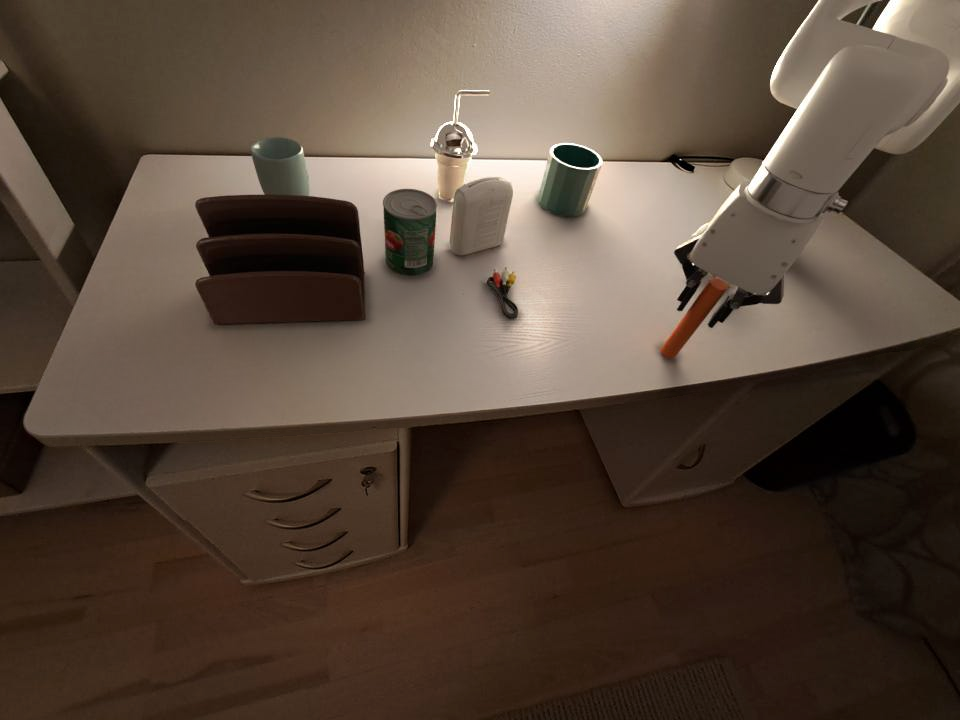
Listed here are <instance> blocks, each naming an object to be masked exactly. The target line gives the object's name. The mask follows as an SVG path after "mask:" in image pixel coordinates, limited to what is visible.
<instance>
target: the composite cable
mask: <svg viewBox="0 0 960 720" xmlns="http://www.w3.org/2000/svg"><path fill="white" fill-rule="evenodd" d="M515 273H516V271H515V270H512V272H511V273H510V272H509V270H508V267H507V266H505V267H504V269H503V271H502V272H501V276H500V273H499V271H497V269H496V268H494V269H493V273H492V276H489V277H487V279H486V281H485V283H486V285H487V287H488V288H489V289H490V290H491V291H493V293H494V294H495V295H496V296H497V297H498V298H499V301H500V306H501V311H502V313H503V315H504V317H506V318H507V319H509V320H513V319H516V318H517V317H518V315H519V309H518V306H517V304H515V302H514V301H512V300H511V299H509V297H508V295H509V293H510V291H511V288H512V286H513V285H514V284H515V282H516V278H517V275H516V274H515ZM492 283H493V284H494V285H496V286H494V285H493V284H492ZM506 305H507V306H508V307H509V308H510V310H512V313H511V312H509V311H508V310H507V307H506Z"/></svg>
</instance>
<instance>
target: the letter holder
mask: <svg viewBox="0 0 960 720" xmlns="http://www.w3.org/2000/svg"><path fill="white" fill-rule="evenodd" d="M194 205H195V207H194V208H195V209H196V213H197V214H198V216H199V218H200V221H201V222H202V225H203V227H204V230H205V232H206V234H207V237H202V238H200V239H199V240H198V241H196V244H195V247H196V248H195V249H196V250H197V252H198V255H199V257H200V259H201V261H202V263H203V265H204V267H205V269H206V271H207V273H208V276H202V277H199V278H197V279H196V280H195V288H196V291H197V293H198V294H199V297H200V298H201V300H202V302H203V304H204V306H205V308H206V312H207V313H208V315H209V317H210V319H211V321H212V322H213V324H214V325H230V324H231V325H232V324H234V325H235V324H236V325H237V324H238V325H240V324H269V323H271V324H272V323H302V322H303V323H304V322H331V321H333V322H335V321H359V320H360V321H363V320H366V272H365V264H364V254H363V253H364V252H363V247H362V246H363V244H362V236H361V235H362V234H361V224H360V216H359V215H360V214H359V209H358V207H357V206H356V205H355V204H354V203H353V202H352V201H348V200H343V199H338V198H337V199H336V198H330V197H322V196H314V195H313V196H312V195H309V196H300V195H265V194H233V195H232V194H231V195H216V196H206V197H202V198H201V197H200V198H199V199H197V200H196V201H195V203H194Z"/></svg>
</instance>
